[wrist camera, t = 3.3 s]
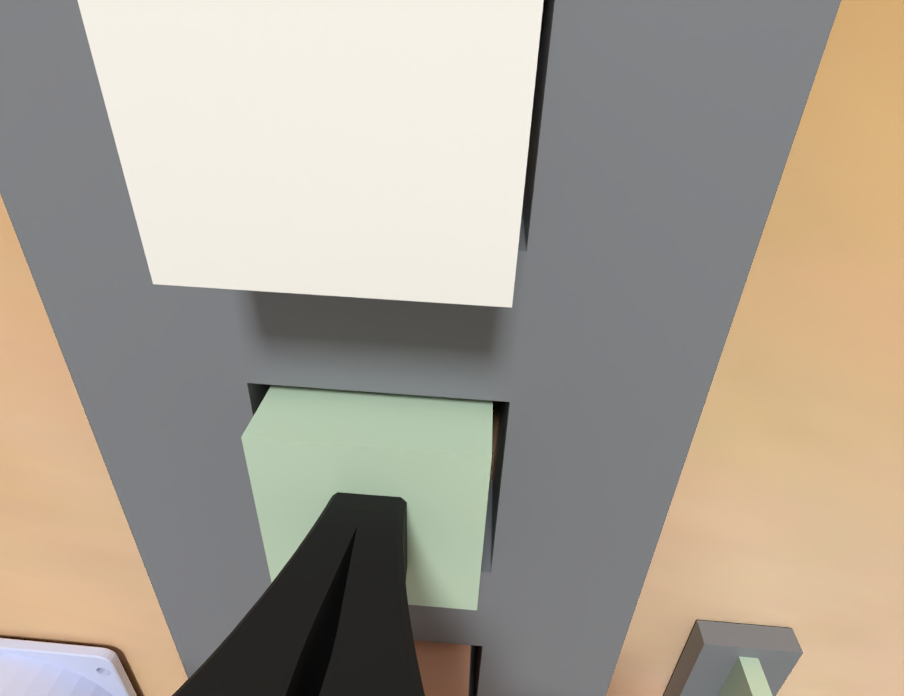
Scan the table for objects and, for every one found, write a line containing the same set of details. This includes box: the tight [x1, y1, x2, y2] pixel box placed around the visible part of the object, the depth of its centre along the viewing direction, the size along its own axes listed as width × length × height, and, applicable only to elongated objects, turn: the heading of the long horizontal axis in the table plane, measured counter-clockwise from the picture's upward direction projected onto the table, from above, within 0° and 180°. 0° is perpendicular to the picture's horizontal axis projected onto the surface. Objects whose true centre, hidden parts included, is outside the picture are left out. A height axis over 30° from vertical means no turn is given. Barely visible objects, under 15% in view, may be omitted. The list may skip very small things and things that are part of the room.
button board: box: [0, 0, 841, 696], centre depth 13 cm, size 26×12×3 cm, turn 178°
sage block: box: [241, 385, 493, 610], centre depth 13 cm, size 4×4×4 cm
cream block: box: [77, 0, 544, 308], centre depth 7 cm, size 4×4×4 cm
